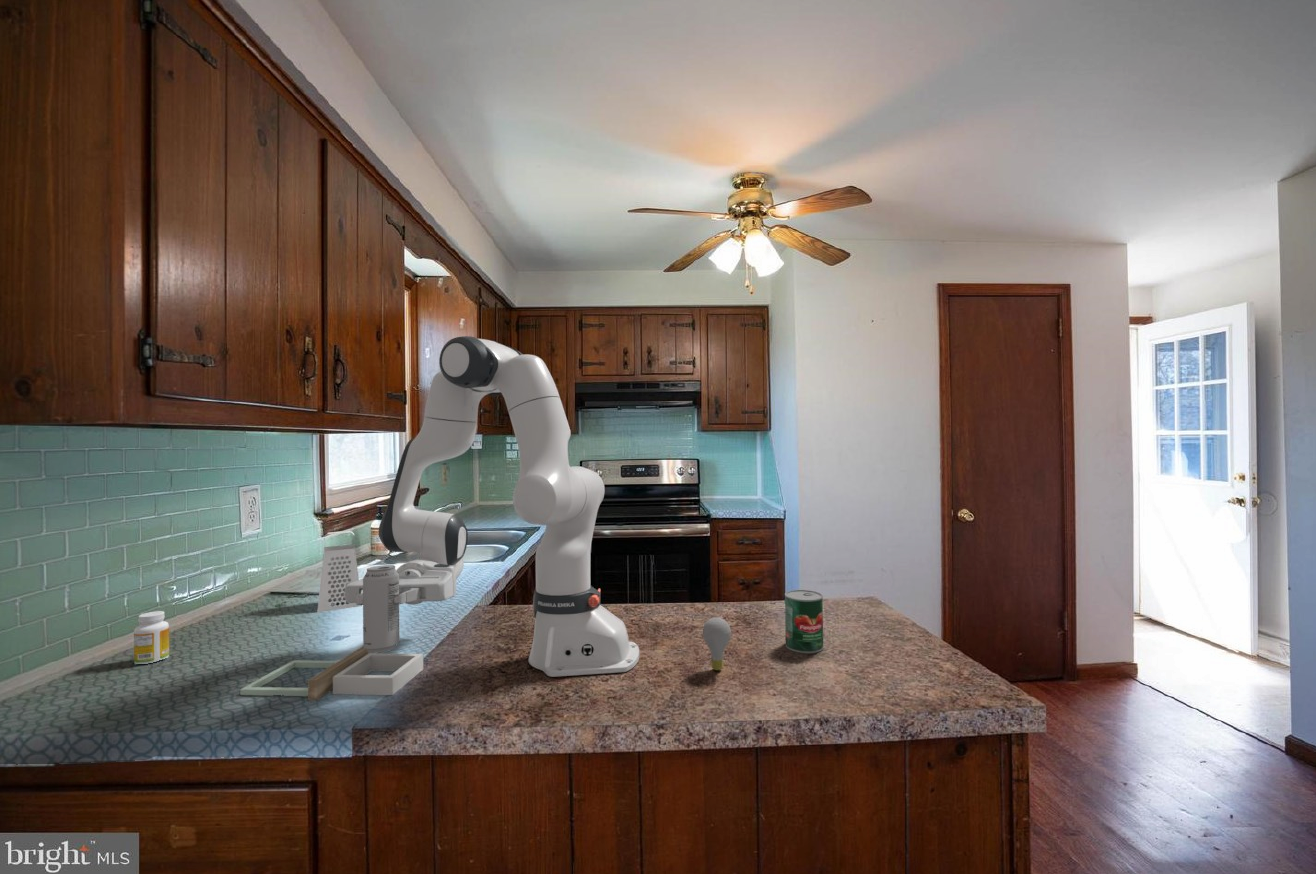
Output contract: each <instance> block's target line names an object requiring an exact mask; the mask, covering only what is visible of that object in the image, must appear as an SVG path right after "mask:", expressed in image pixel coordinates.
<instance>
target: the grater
mask: <svg viewBox="0 0 1316 874" xmlns="http://www.w3.org/2000/svg"><path fill="white" fill-rule="evenodd" d="M348 533H349V534H352V535H353V539H354V542H353V544H344V545H333V546H323V556H322V564H321V565H322V566H321V572H320V573H321V575H320V576H321V577H320V583H319V591H318V592H319V593H318V603H317V611H316V612H317V613H322V612H324V613H325V612H330V611H338V610H345V609H350V608H351V609H352V608H358V607H363V605H356V603H347V601H346V599H345V587H346V585H347V584H349V583H351V582H354V581H357V580H360V579H359V571H358V564H357V555H356V547H355V546H356V544H355V541H356V540H355V539H356V538H355V533H354V532H353V531H352V530H343V531H341V530H340V531H331V532H330V531H329V532H327V533H326V534H324V536H323V539H325V537H327V536H328V535H335V534H338V535H339V534H348ZM337 603H339V604H338V605H337ZM342 603H343V604H342ZM332 604H333V606H332Z"/></svg>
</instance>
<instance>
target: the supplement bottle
mask: <svg viewBox="0 0 1316 874" xmlns="http://www.w3.org/2000/svg"><path fill="white" fill-rule="evenodd" d="M165 614H166V613H165V611H164V610H154V611H150V612H145V613H141V614H139V615H138V619H137V620H138V626H137V625H136V627H135V628H134V630H133V658H134V659H133V660H134V661H133V662H134V664H135V665H136V664H148V663H153V662H156V661H159V660H162V659H165V658H167V659H168V658H169V657H170V625H169V621H168V622H167V621H165V618H166V616H165ZM165 660H166V659H165ZM153 664H154V663H153ZM148 665H149V664H148Z"/></svg>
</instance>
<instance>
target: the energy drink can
mask: <svg viewBox="0 0 1316 874" xmlns="http://www.w3.org/2000/svg"><path fill="white" fill-rule="evenodd" d="M396 570H397V568H396V565H393V564H390V565H389V564H388V565H387V564H386V565H383V564H382V565H376V566H370V567H368V568H366V572H365V574H364V576H363V578H362V579H363V605H362V623H363V624H362V631H363V632H362V638H363V639H362V642H363V643H362V647H364V648H365V649H367V652H368V653H388V652H390V651H393V650H395V649H396V648H397V644H398V643H400V604H394V595H396V594H398V593H399V574H398V572H397V571H396Z"/></svg>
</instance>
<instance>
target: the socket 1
mask: <svg viewBox="0 0 1316 874" xmlns="http://www.w3.org/2000/svg"><path fill="white" fill-rule="evenodd" d="M338 661H339V660H295V659H293V660H292V661H289V662H288V663H286V664H284V665H282V666H281V667H278V668H276V669H275V670H273V671H271V672H269V673H268V674H266V675H264V676H263V677H261V678H258V679H257V680H255V681H253V682H251V683H249V684H247V685H246V686H244V687H242V688H241V689H240V690H239V691H240V696H266V697H267V696H273V695H281V696H282V695H284V696H282V697H308V687H277V686H276V687H273V686H272V687H271V686H270V687H269V686H264V685H266V684H268V683H271V682H272V681H274V680H275V679H277V678H278V677H280V676H282V675H284V674H285V673H288V672H289V671H291V670H293V669H294V668H297V669H299V668H304V669H306V668H307V669H327V668H329V667H330V666H332V665H333V664H335V663H337V662H338ZM262 686H263V687H262ZM281 696H280V697H281ZM273 697H274V696H273Z"/></svg>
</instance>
